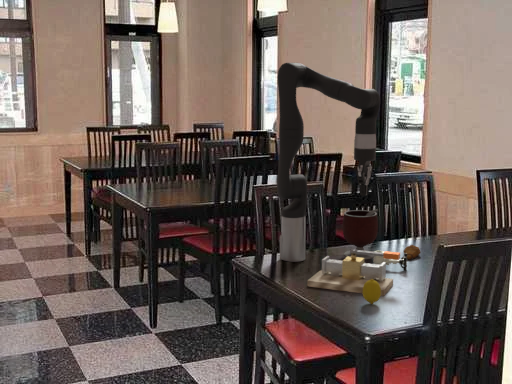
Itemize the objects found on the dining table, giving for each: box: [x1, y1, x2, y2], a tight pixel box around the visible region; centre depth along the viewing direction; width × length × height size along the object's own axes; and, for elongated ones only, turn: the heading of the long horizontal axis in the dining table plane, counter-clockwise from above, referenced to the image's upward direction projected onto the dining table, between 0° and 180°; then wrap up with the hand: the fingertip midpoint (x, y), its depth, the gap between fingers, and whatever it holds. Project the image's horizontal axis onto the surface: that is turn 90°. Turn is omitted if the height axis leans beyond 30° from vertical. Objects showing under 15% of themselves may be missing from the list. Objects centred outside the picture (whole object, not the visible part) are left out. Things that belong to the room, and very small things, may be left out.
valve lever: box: [349, 248, 401, 260], centre depth 211 cm, size 17×3×2 cm, turn 65°
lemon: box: [362, 279, 381, 305], centre depth 194 cm, size 6×6×8 cm
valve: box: [372, 250, 408, 272], centre depth 230 cm, size 7×7×12 cm
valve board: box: [307, 269, 394, 297], centre depth 212 cm, size 26×13×2 cm, turn 65°
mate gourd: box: [342, 208, 379, 260], centre depth 248 cm, size 16×14×20 cm
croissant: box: [403, 244, 422, 261], centre depth 248 cm, size 14×7×5 cm, turn 156°
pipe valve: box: [321, 254, 387, 281], centre depth 215 cm, size 21×6×8 cm, turn 65°
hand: (363, 195), depth 223 cm, fingers closed
